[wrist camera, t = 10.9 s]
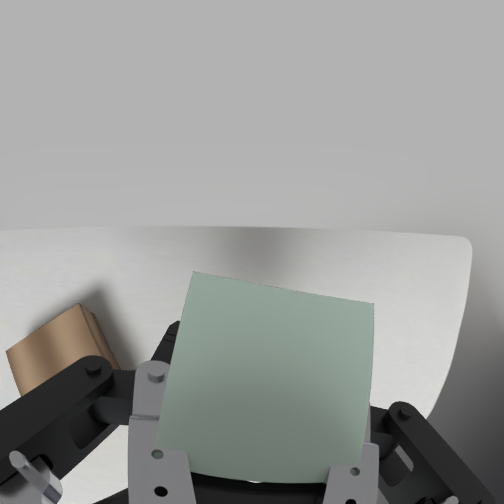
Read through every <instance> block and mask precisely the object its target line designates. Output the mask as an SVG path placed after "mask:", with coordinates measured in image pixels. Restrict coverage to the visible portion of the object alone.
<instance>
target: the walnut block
mask: <svg viewBox="0 0 504 504" xmlns="http://www.w3.org/2000/svg"><path fill="white" fill-rule="evenodd" d="M6 354H7V358H8V361H9V364H10V367H11V370H12V373H13V376H14V379H15V382H16V385H17V387H18V390H19V393H20V395H21V397H22V396H23V395H25V394H26V393H28V392H29V391H31V390H32V389H34V388H36V387H37V386H39V385H40V384H42V383H43V382H45V381H46V380H48V379H49V378H51V377H53V376H54V375H56V374H57V373H59V372H60V371H62V370H63V369H65V368H66V367H68V366H69V365H71V364H73V363H74V362H76V361H77V360H79V359H80V358H82V357H85V356H88V355H97V356H101V357H104V358H106V359H107V360H108V361H109V362H110V363H111V364H112V367H113V369H114V370H121V369H120V367H119V365H118V363H117V361H116V359H115V358H114V356H113V354H112V352H111V350H110V348H109V346H108V344H107V342H106V340H105V337H104V335H103V333H102V331H101V329H100V327H99V324H98V322H97V320H96V318H95V315H94V314H93V313H91V312H90V311H88V310H87V309H86V308H84V307H83V306H81V305H80V304H77V305H75V306H74V307H72V308H71V309H69V310H67V311H66V312H64V313H63V314H61V315H59V316H58V317H56V318H55V319H53V320H52V321H50V322H48V323H47V324H45V325H44V326H42V327H41V328H39V329H38V330H36V331H35V332H33V333H32V334H30V335H29V336H27V337H26V338H24V339H23V340H21V341H20V342H18V343H17V344H15V345H14V346H12V347H11V348H9V349H8V350H7V351H6Z"/></svg>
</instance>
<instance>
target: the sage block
mask: <svg viewBox="0 0 504 504" xmlns="http://www.w3.org/2000/svg"><path fill="white" fill-rule="evenodd" d="M373 345H374V303H367V302H360V301H354V300H348V299H341V298H335V297H329V296H323V295H317V294H311V293H305V292H299V291H294V290H288V289H282V288H277V287H271V286H266V285H261V284H255V283H250V282H245V281H239V280H234V279H229V278H224V277H219V276H214V275H209V274H204V273H199V272H194V271H193V274H192V278H191V281H190V285H189V289H188V293H187V297H186V301H185V304H184V308H183V312H182V316H181V321H180V325H179V329H178V333H177V337H176V342H175V346H174V350H173V355H172V359H171V364H170V369H169V373H168V378H167V383H166V388H165V393H164V398H163V403H162V408H161V414H160V419H159V425H158V431H157V436H156V443H155V445H158V446H162V447H166V448H169V449H173V450H177V451H181V452H185V453H187V455H188V461H189V467H190V472H194V473H199V474H204V475H210V476H216V477H222V478H229V479H237V480H246V481H257V482H273V483H319V482H324V479H325V477H326V475H327V473H328V471H329V468H330V466H334V465H348V464H358V463H360V459H361V454H362V448H363V443H364V437H365V430H366V424H367V416H368V409H369V400H370V390H371V379H372V365H373ZM153 458H155V459H162V458H163V454H162V453H160V452H155V453H154V455H153ZM350 473H351V474H352V475H353V476H355V475H356V472H355V470H353V469H352V470H350Z"/></svg>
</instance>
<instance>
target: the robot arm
mask: <svg viewBox="0 0 504 504" xmlns="http://www.w3.org/2000/svg"><path fill="white" fill-rule="evenodd" d="M179 325H180V321H176V322H175V323H173V324H171V325H170V326H169V328H168V329H167V331H166V333H165V335H164V336H163V338H162V340H161V342H160V344H159V346H158V347H157V349H156V351H155V353H154V355H153V356H152V358H151V360H150V361H147V362H144V363H142V364H140V365H139V366H138V367H137V369H136V370H132V371H126V370H114V369H113V367H112V364H111V363H110V362H109V361H108V360H107V359H106V358H104V357H101V356H97V355H88V356H85V357H82V358H80V359H79V360H77V361H76V362H74V363H73V364H71V365H69V366H68V367H66V368H65V369H63V370H62V371H60V372H59V373H57V374H56V375H54V376H53V377H51V378H49V379H48V380H46V381H45V382H43V383H42V384H40V385H39V386H37V387H36V388H34V389H32V390H31V391H29V392H28V393H26V394H25V395H23V396H22V397H20V398H19V399H17V400H16V401H14V402H13V403H11V404H9V405H8V406H6V407H5V408H3V409H2V410H0V502H1V504H57V503H58V501H59V500H60V499H61V497H62V493H63V489H62V485H61V482H60V480H61V479H62V478H63V477H64V476H65V475H66V474H68V473H69V472H70V471H71V470H72V469H73V468H74V467H75V466H76V465H78V464H79V463H80V462H81V461H82V460H83V459H84V458H85V457H86V456H87V455H88V454H90V453H91V452H92V451H93V450H94V449H95V448H96V447H97V446H98V445H99V444H100V443H101V442H102V441H103V440H105V439H106V438H107V437H108V436H109V435H110V434H111V433H112V432H113V431H114V430H115V429H116V428H117V427H118V426H119V425H129V431H128V488H126V489H124V490H122V491H120V492H118V493H116V494H114V495H112V496H109V497H107V498H105V499H103V500H100V501H98V502H96V503H93V504H377V493H378V488H379V489H380V491H381V492H382V494H383V495H384V496H385V498H386V499H387V501H388V502H389V504H495V500H494V497H493V496H492V494H491V493H490V492H489V491H488V490H487V489H486V487H485V486H484V485H483V484H482V483H481V481H480V480H479V479H478V478H477V477H476V476H475V475H474V474H473V473H472V471H471V470H470V469H469V468H468V467H467V465H466V464H465V463H464V462H463V461H462V460H461V459H460V457H459V456H458V455H457V454H456V453H455V452H454V451H453V449H452V448H451V447H450V446H449V445H448V444H447V443H446V442H445V440H444V439H443V438H442V437H441V436H440V435H439V434H438V433H437V432H436V430H435V429H434V428H433V427H432V426H431V425H430V424H429V423H428V421H426V419H425V418H424V417H423V416H422V415H421V414H420V413H419V412H418V410H417V409H416V408H415V407H414V406H412V405H411V404H409V403H406V402H401V401H399V402H395V403H393V404H392V405H391V406H390V407H389V409H388V410H387V409H382V408H378V407H373V406H370V402H369V409H368V416H367V424H366V430H365V437H364V443H363V448H362V454H361V459H360V463H358V464H348V465H334V466H330V468H329V471H328V473H327V475H326V477H325V479H324V482H319V483H273V482H260V483H253V482H249V481H246V480H237V479H229V478H222V477H216V476H210V475H204V474H199V473H194V472H190V467H189V461H188V455H187V453H185V452H181V451H177V450H173V449H169V448H166V447H162V446H158V445H155V443H156V436H157V431H158V425H159V419H160V414H161V408H162V403H163V398H164V393H165V388H166V383H167V378H168V373H169V369H170V364H171V359H172V355H173V350H174V346H175V342H176V337H177V333H178V329H179ZM399 445H400V446H401V447H402V449H403V450H404V451H405V453H406V454H407V455H408V456H409V458H410V459H411V460H412V462H413V465H414V468H413V471H412V472H411V471H410V470H409V469H408V467H407V466H406V465H405V463H404V462H403V461H402V459H401V458H400V457H399V455H398V454H397V453H396V452H395V449H396V448H397V447H398V446H399ZM155 452H160V453H162V454H163V458H162V459H155V458H153V455H154V453H155ZM352 469H353V470H355V472H356V475H355V476H353V475H352V474H351V473H350V470H352Z"/></svg>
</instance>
